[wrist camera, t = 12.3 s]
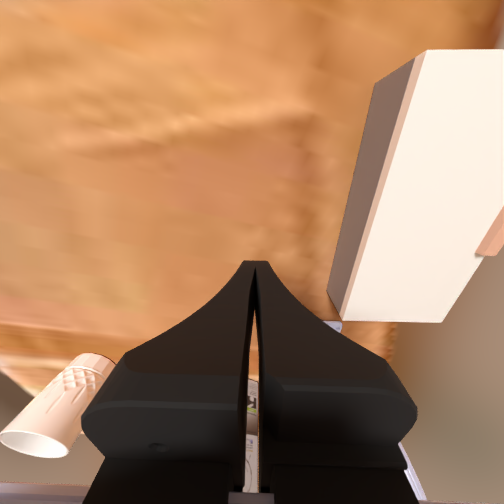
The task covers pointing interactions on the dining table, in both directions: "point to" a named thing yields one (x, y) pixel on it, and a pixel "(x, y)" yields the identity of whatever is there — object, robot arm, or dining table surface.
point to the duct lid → (434, 192)
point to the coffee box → (252, 439)
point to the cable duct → (367, 176)
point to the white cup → (58, 409)
